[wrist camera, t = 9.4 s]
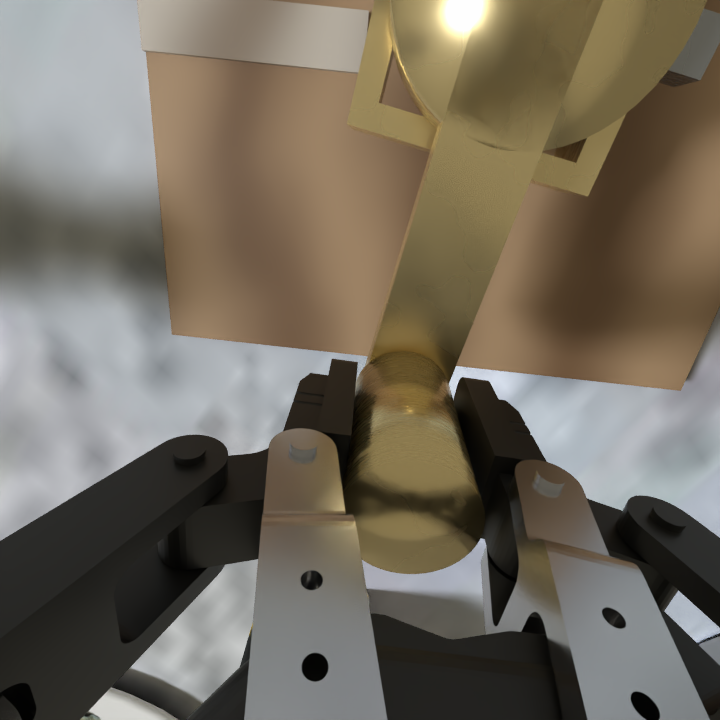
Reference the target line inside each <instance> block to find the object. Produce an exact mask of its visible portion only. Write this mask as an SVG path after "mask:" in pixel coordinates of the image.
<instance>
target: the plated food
mask: <svg viewBox="0 0 720 720" xmlns="http://www.w3.org/2000/svg"><path fill="white" fill-rule="evenodd" d="M80 720H178V719H177V718H175V717H174V716H172V715H170V714H169V713H167V712H166V711H164V710H162V709H160V708H158V707H156V706H154V705H152V704H150V703H148V702H146V701H144V700H142V699H140V698H138V697H135V696H133V695H131V694H129V693H126V692H123V691H121V690H118V689H115V688H112V687H111V688H110V689H109V690H108V691H107V692H106V693H105V694H104V695H103V696H102V697H101V698H100V699H99V700H98V702H97V703H96V704H95V705H94V706H93V707H92V708H91V709H90V710H89V711H88V712H87V713H86V714H85V715H84V716H83V717H82V718H81V719H80Z"/></svg>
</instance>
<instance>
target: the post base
mask: <svg viewBox="0 0 720 720" xmlns="http://www.w3.org/2000/svg"><path fill="white" fill-rule="evenodd" d="M374 1H375V0H137V4H138V15H139V26H140V36H141V47H142V50H143V51H145V52H146V57H147V68H148V79H149V90H150V101H151V112H152V122H153V133H154V144H155V155H156V166H157V177H158V188H159V199H160V210H161V221H162V232H163V242H164V253H165V264H166V275H167V286H168V297H169V308H170V319H171V330H172V334H173V335H182V336H191V337H200V338H209V339H218V340H227V341H236V342H245V343H254V344H263V345H272V346H281V347H290V348H299V349H308V350H318V351H327V352H336V353H345V354H354V355H363V356H368V355H369V351H370V348H371V345H372V341H373V338H374V335H375V331H376V328H377V325H378V322H379V318H380V315H381V312H382V308H383V305H384V302H385V299H386V295H387V292H388V289H389V285H390V282H391V279H392V276H393V272H394V269H395V266H396V262H397V259H398V256H399V252H400V249H401V246H402V243H403V239H404V236H405V233H406V229H407V226H408V223H409V220H410V216H411V213H412V210H413V206H414V203H415V200H416V197H417V193H418V190H419V187H420V183H421V180H422V177H423V173H424V170H425V167H426V164H427V160H428V157H429V154H430V153H429V152H426V151H422V150H419V149H416V148H412V147H409V146H406V145H402V144H399V143H396V142H392V141H389V140H386V139H382V138H379V137H376V136H372V135H369V134H366V133H362V132H359V131H356V130H352V129H351V128H350V127H349V126H348V125H347V121H348V117H349V112H350V108H351V103H352V99H353V94H354V90H355V85H356V81H357V76H358V72H359V68H360V63H361V59H362V54H363V50H364V45H365V41H366V36H367V32H368V27H369V23H370V18H371V14H372V10H373V5H374ZM704 9H707V10H710V11H713V12H716V13H719V14H720V0H707V2H706V4H705V7H704ZM382 104H384V105H388V106H391V107H394V108H397V109H401V110H404V111H407V112H411V113H414V114H417V115H420V116H423V115H422V114H421V112H420V111H419V109H418V108H417V107H416V105H415V104H414V102H413V101H412V99H411V97H410V95H409V94H408V92H407V90H406V88H405V86H404V84H403V81H402V78H401V76H400V73H399V71H398V68H397V64H396V60H395V56H393V60H392V64H391V68H390V72H389V76H388V80H387V84H386V88H385V92H384V96H383V100H382ZM556 149H557V148H554V149H549V150H545V151H542V153H545V154H548V155H552V156H554V154H555V152H556ZM719 307H720V43H719V45H718V47H717V49H716V51H715V53H714V55H713V57H712V59H711V61H710V63H709V64H708V66H707V68H706V70H705V72H704V74H703V76H702V78H701V80H700V81H696V82H692V83H688V84H684V85H681V86H677V87H672V86H669V85H666V84H663V83H659V82H658V83H657V85H656V86H655V87H654V88H653V89H652V90H651V91H650V92H649V93H648V94H647V95H646V96H645V97H644V98H643V99H642V100H641V101H640V102H639V103H638V104H637V105H636V106H635V107H633V108H632V109H631V110H630V111H628V112H627V113H626V115H625V118H624V120H623V122H622V124H621V126H620V128H619V131H618V133H617V135H616V137H615V139H614V141H613V143H612V146H611V148H610V150H609V152H608V154H607V156H606V159H605V161H604V163H603V165H602V167H601V169H600V172H599V174H598V176H597V178H596V180H595V182H594V185H593V187H592V189H591V191H590V193H589V195H588V197H587V196H581V195H575V194H569V193H563V192H559V191H556V190H552V189H549V188H546V187H542V186H539V185H536V184H532V183H530V184H529V186H528V189H527V191H526V194H525V196H524V198H523V201H522V203H521V206H520V208H519V211H518V213H517V216H516V218H515V221H514V223H513V226H512V228H511V231H510V233H509V236H508V238H507V241H506V243H505V246H504V248H503V250H502V253H501V255H500V258H499V260H498V263H497V265H496V268H495V270H494V273H493V275H492V278H491V280H490V283H489V285H488V288H487V290H486V293H485V295H484V298H483V300H482V303H481V305H480V307H479V310H478V312H477V315H476V317H475V320H474V322H473V325H472V327H471V330H470V332H469V335H468V337H467V340H466V342H465V345H464V347H463V350H462V352H461V355H460V357H459V359H458V362H457V364H456V366H462V367H471V368H480V369H489V370H498V371H508V372H517V373H526V374H535V375H544V376H553V377H562V378H571V379H580V380H589V381H598V382H607V383H616V384H625V385H634V386H643V387H652V388H661V389H670V390H679V391H681V389H682V387H683V385H684V382H685V380H686V378H687V376H688V374H689V372H690V370H691V367H692V365H693V363H694V361H695V359H696V357H697V354H698V352H699V350H700V348H701V346H702V344H703V342H704V339H705V337H706V335H707V333H708V331H709V329H710V326H711V324H712V322H713V320H714V318H715V316H716V314H717V311H718V309H719Z"/></svg>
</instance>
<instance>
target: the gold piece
mask: <svg viewBox="0 0 720 720" xmlns="http://www.w3.org/2000/svg"><path fill="white" fill-rule="evenodd" d="M706 2H707V0H375V1H374V5H373V10H372V14H371V18H370V23H369V27H368V32H367V36H366V41H365V45H364V50H363V54H362V59H361V63H360V68H359V72H358V76H357V81H356V85H355V90H354V94H353V99H352V103H351V108H350V112H349V117H348V121H347V125H348V126H349V127H350V128H351V129H352V130H356V131H359V132H362V133H366V134H369V135H372V136H376V137H379V138H382V139H386V140H389V141H392V142H396V143H399V144H402V145H406V146H409V147H412V148H416V149H419V150H422V151H426V152H429V153H430V154H429V157H428V160H427V164H426V167H425V170H424V173H423V177H422V180H421V183H420V187H419V190H418V193H417V197H416V200H415V203H414V206H413V210H412V213H411V216H410V220H409V223H408V226H407V229H406V233H405V236H404V239H403V243H402V246H401V249H400V252H399V256H398V259H397V262H396V266H395V269H394V272H393V276H392V279H391V282H390V285H389V289H388V292H387V295H386V299H385V302H384V305H383V308H382V312H381V315H380V318H379V322H378V325H377V328H376V331H375V335H374V338H373V341H372V345H371V348H370V351H369V355H368V358H367V361H366V364H365V367H364V368H363V370H362V371H361V372H360V374H359V376H358V378H357V381H356V387H355V399H354V411H353V422H352V434H351V441H350V447H349V454H348V460H347V466H346V472H345V474H344V477H343V480H342V491H343V498H344V505H345V512H346V514H353V516H354V518H355V522H356V528H357V534H358V540H359V547H360V553H361V559H362V560H363V561H365V562H367V563H369V564H371V565H372V566H375V567H377V568H380V569H383V570H386V571H390V572H395V573H403V574H420V573H428V572H433V571H437V570H440V569H443V568H446V567H448V566H451V565H453V564H455V563H456V562H458V561H460V560H461V559H463V558H464V557H465V556H466V555H468V554H469V553H470V552H471V551H472V550H473V548H474V547H475V546H476V545H477V543H478V542H479V540H480V538H481V536H482V534H483V530H484V526H485V510H484V506H483V503H482V499H481V496H480V492H479V489H478V485H477V482H476V478H475V475H474V471H473V468H472V464H471V461H470V457H469V454H468V450H467V447H466V443H465V440H464V436H463V433H462V429H461V426H460V422H459V419H458V415H457V412H456V408H455V405H454V401H453V398H452V394H451V391H450V387H449V382H450V379H451V377H452V374H453V372H454V369H455V367H456V364H457V362H458V359H459V357H460V355H461V352H462V350H463V347H464V345H465V342H466V340H467V337H468V335H469V332H470V330H471V327H472V325H473V322H474V320H475V317H476V315H477V312H478V310H479V307H480V305H481V303H482V300H483V298H484V295H485V293H486V290H487V288H488V285H489V283H490V280H491V278H492V275H493V273H494V270H495V268H496V265H497V263H498V260H499V258H500V255H501V253H502V250H503V248H504V246H505V243H506V241H507V238H508V236H509V233H510V231H511V228H512V226H513V223H514V221H515V218H516V216H517V213H518V211H519V208H520V206H521V203H522V201H523V198H524V196H525V194H526V191H527V189H528V186H529V184H530V183H532V184H536V185H539V186H542V187H546V188H549V189H552V190H556V191H559V192H563V193H569V194H575V195H581V196H587V197H588V195H589V193H590V191H591V189H592V187H593V185H594V182H595V180H596V178H597V176H598V174H599V172H600V169H601V167H602V165H603V163H604V161H605V159H606V156H607V154H608V152H609V150H610V148H611V146H612V143H613V141H614V139H615V137H616V135H617V133H618V131H619V128H620V126H621V124H622V122H623V120H624V118H625V115H626V113H627V112H628V111H630V110H631V109H632V108H633V107H635V106H636V105H637V104H638V103H639V102H640V101H641V100H642V99H643V98H644V97H645V96H646V95H647V94H648V93H649V92H650V91H651V90H652V89H653V88H654V87H655V86H656V85H657V83H658V82H659V83H663V84H666V85H669V86H672V87H677V86H681V85H684V84H688V83H692V82H696V81H700V80H701V78H702V76H703V74H704V72H705V70H706V68H707V66H708V64H709V63H710V61H711V59H712V57H713V55H714V53H715V51H716V49H717V47H718V45H719V43H720V14H719V13H716V12H713V11H710V10H707V9H704V7H705V4H706ZM393 56H395V60H396V64H397V68H398V71H399V73H400V76H401V78H402V81H403V84H404V86H405V88H406V90H407V92H408V94H409V95H410V97H411V99H412V101H413V102H414V104H415V105H416V107H417V108H418V109H419V111H420V112H421V114H422V115H423V116H420V115H417V114H414V113H411V112H407V111H404V110H401V109H397V108H394V107H391V106H388V105H384V104H382V100H383V96H384V92H385V88H386V84H387V80H388V76H389V72H390V68H391V64H392V60H393ZM554 148H557V149H556V152H555V154H554V156H552V155H548V154H545V153H542V151H545V150H549V149H554Z"/></svg>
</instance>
